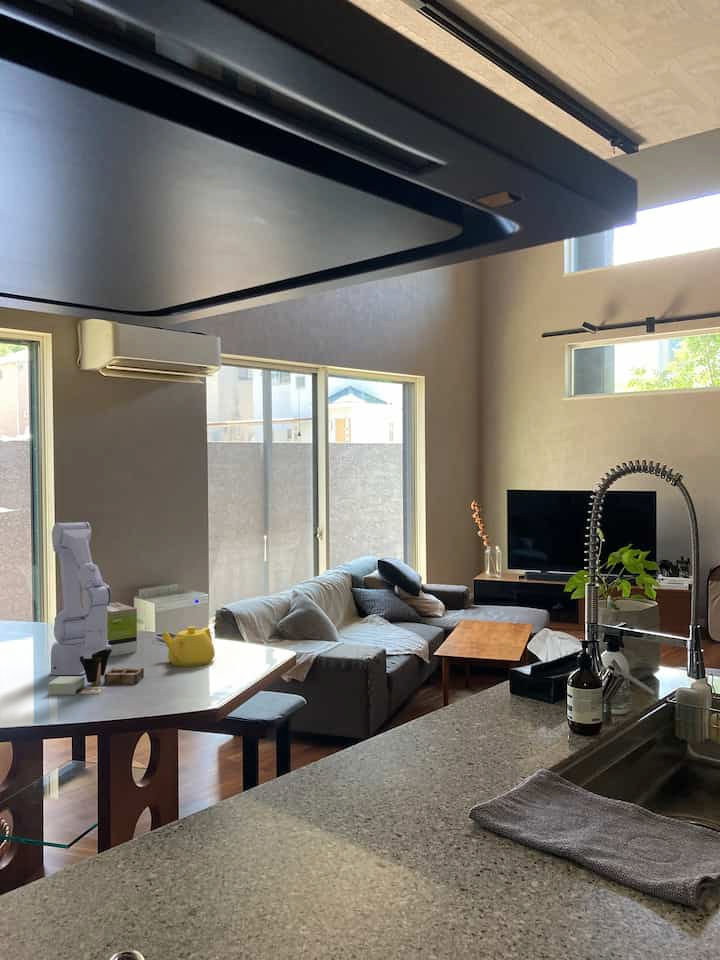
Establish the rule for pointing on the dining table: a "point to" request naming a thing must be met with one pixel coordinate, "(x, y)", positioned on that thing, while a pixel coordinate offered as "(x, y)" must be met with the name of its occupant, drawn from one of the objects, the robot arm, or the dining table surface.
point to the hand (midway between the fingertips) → (96, 678)
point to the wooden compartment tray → (124, 676)
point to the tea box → (121, 628)
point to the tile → (93, 690)
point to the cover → (66, 685)
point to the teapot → (190, 647)
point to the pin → (97, 677)
